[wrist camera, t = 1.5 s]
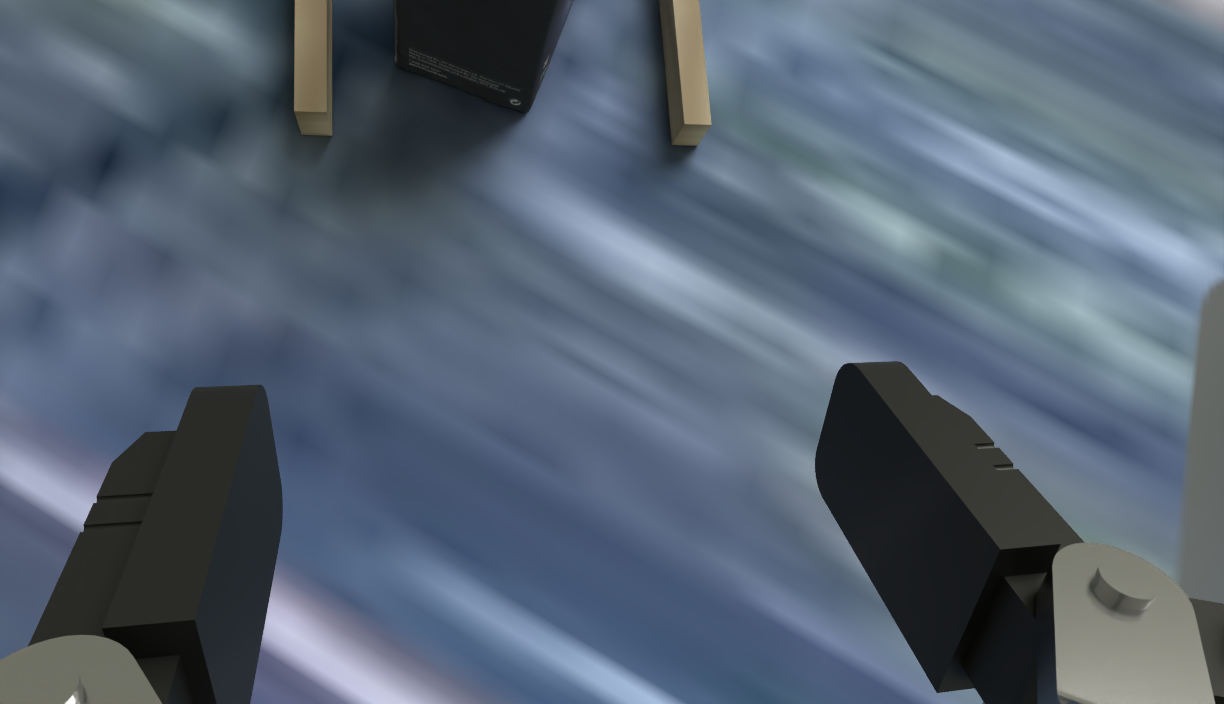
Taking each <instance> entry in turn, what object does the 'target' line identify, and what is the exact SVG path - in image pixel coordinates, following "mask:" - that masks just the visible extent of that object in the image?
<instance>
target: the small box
mask: <svg viewBox="0 0 1224 704" xmlns="http://www.w3.org/2000/svg"><path fill="white" fill-rule="evenodd" d="M572 3H573V0H394V32H395V36H394V47H395V51H394V61H395V63H396V65H398V67H402V68H404V69H405V70H407V71H411V72H414V73H419V74H422V75H425V76H426V77H427V78H433V79H435V80H438V81H441V82H443V83H446V84H448V85H451V86H454V87H456V88H459V89H462V90H464V91H466V92H468V93H472V94H474V95H477V96H480V97H482V98H485V99H486V100H487V101H489V102H493V103H495V104H499V105H502V106H505V107H508V108H512V109H515V110H517V111H520V112H524V113H527V112H528V111H529V110H530V108H531V106H532V104H533V101H534V99H535V96H536V94H537V92H538V89H539V87H540V85H541V82H542V80H543V78H544V75H545V73H546V70H547V68H548V65H549V63H550V61H551V58H552V55H553V52H554V50H555V47H556V45H557V42H558V40H559V37H560V35H561V32H562V29H563V27H564V24H565V21H566V19H567V16H568V13H569V10H570V8H571V5H572Z"/></svg>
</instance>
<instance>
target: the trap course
mask: <svg viewBox="0 0 1224 704" xmlns="http://www.w3.org/2000/svg"><path fill="white" fill-rule="evenodd" d="M659 7H660V18H661V29H662V40H663V51H664V62H665V74H666V85H667V96H668V107H669V118H670V129H671V140H672V145H691V146H698V144H699V143H700V141H701V140H702V138H703V137H704V135H705V134H706V132H707V131H708V129H709V128H710V126H711V115H710V105H709V95H708V85H707V75H706V65H705V55H704V46H703V36H702V26H701V16H700V6H699V0H659ZM294 112H295V116H296V119H297V122H298V125H299V128H300V131H301V134H302V135H326V136H332V0H295V56H294Z"/></svg>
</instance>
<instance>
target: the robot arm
mask: <svg viewBox="0 0 1224 704" xmlns="http://www.w3.org/2000/svg"><path fill="white" fill-rule="evenodd" d="M815 472H816V479H817V484H818V487H819V490H820V493H821V495H822V497H823V499H824V501H825V503H826V504H827V506H828V508H829V509H830V511H831V513H832V515H833V516H834V518H835V520H836V521H837V523H838V525H839V527H840V528H841V530H842V532H843V533H844V535H845V537H846V538H847V540H848V542H849V544H850V545H851V547H852V549H853V550H854V552H855V554H856V556H857V557H858V559H859V561H860V562H861V564H862V566H863V568H864V569H865V571H866V573H867V574H868V576H869V578H870V579H871V581H872V583H873V585H874V586H875V588H876V590H877V591H878V593H879V595H880V597H881V598H882V600H883V602H884V603H885V605H886V607H887V608H888V610H889V612H890V614H891V615H892V617H893V619H894V620H895V622H896V624H897V626H898V627H899V629H900V631H901V632H902V634H903V636H904V637H905V639H906V641H907V643H908V644H909V646H910V648H911V649H912V651H913V653H914V655H915V656H916V658H917V660H918V661H919V663H920V665H921V666H922V668H923V670H924V672H925V673H926V675H927V677H928V678H929V680H930V682H931V684H932V685H933V687H934V689H935V690H936V692H937V693H940V692H948V691H956V690H964V689H972V688H975V689H976V690H977V692H978V694H979V695H980V697H981V698H982V700H983V701H984V702H983V704H1224V604H1222V603H1215V602H1210V601H1204V600H1197V599H1191V598H1188V597H1187V595H1186V594H1185V593H1184V591H1183V590H1182V589H1181V588H1180V587H1179V586H1178V585H1177V584H1176V583H1175V582H1174V581H1173V580H1172V579H1171V578H1170V577H1169V576H1168V575H1167V574H1165V573H1164V572H1163V571H1162V570H1160V569H1159V568H1157V567H1156V566H1154V565H1153V564H1151V563H1149V562H1148V561H1146V560H1144V559H1142V558H1141V557H1138V556H1136V555H1134V554H1132V553H1130V552H1127V551H1124V550H1122V549H1119V548H1116V547H1112V546H1108V545H1104V544H1097V543H1085V542H1084V541H1083V540H1082V539H1081V538H1080V537H1079V536H1078V535H1077V534H1076V533H1075V531H1074V530H1073V529H1072V528H1071V527H1070V526H1069V525H1068V524H1067V523H1066V521H1065V520H1064V519H1063V518H1062V517H1061V516H1060V515H1059V514H1058V513H1057V512H1056V510H1055V509H1054V508H1053V507H1052V506H1051V505H1050V504H1049V503H1048V502H1047V500H1046V499H1045V498H1044V497H1043V496H1042V495H1041V494H1040V493H1039V492H1038V490H1037V489H1036V488H1035V487H1034V486H1033V485H1032V484H1031V483H1030V482H1029V481H1028V479H1027V478H1026V477H1025V476H1024V475H1023V474H1022V473H1021V472H1020V471H1019V469H1014V468H1013V463H1012V462H1011V461H1010V460H1009V458H1008V457H1007V456H1006V455H1005V454H1004V453H1003V452H1002V451H1001V450H1000V448H995V447H994V442H993V441H992V440H991V438H990V437H989V436H988V435H987V434H986V433H985V432H984V431H983V430H982V429H981V427H980V426H979V425H978V424H977V423H976V422H975V421H974V420H973V419H972V417H970V416H969V415H967V414H966V413H964V412H963V411H961V410H959V409H958V408H956V407H955V406H953V405H952V404H950V403H949V402H947V401H945V400H944V399H942V398H941V397H939V396H938V395H934V396H932V395H931V394H930V393H929V392H928V390H927V389H926V388H925V387H924V386H923V385H922V383H921V382H920V381H919V380H918V379H917V378H916V377H915V375H914V374H913V373H912V372H911V371H910V370H909V369H908V367H907V366H906V365H904V364H903V363H901V362H898V361H893V362H867V363H847V364H845V365H843V366H842V367H841V368H840V370H839V371H838V373H837V376H836V379H835V382H834V386H833V390H832V394H831V397H830V401H829V405H828V409H827V413H826V416H825V420H824V424H823V428H822V432H821V435H820V439H819V443H818V447H817V451H816V457H815ZM282 514H283V503H282V487H281V479H280V473H279V467H278V461H277V454H276V448H275V442H274V436H273V430H272V423H271V417H270V411H269V405H268V399H267V395H266V391H265V389H264V387H263V386H262V385H244V386H218V387H196V388H194V389H193V390H192V392H191V394H190V397H189V399H188V402H187V405H186V407H185V410H184V413H183V415H182V418H181V420H180V423H179V426H178V428H177V431H161V432H145V433H144V434H143V435H142V436H141V437H140V438H139V439H138V440H136V441H135V442H134V443H133V444H132V445H131V446H130V447H129V448H128V449H126V450H125V451H124V452H123V453H122V454H121V455H120V456H119V457H118V458H117V459H115V460H114V461H113V462H112V464H111V466H110V468H109V471H108V473H107V475H106V477H105V479H104V482H103V484H102V486H101V488H100V490H99V492H98V495H97V503H93V506H92V508H91V510H90V512H89V514H88V517H87V519H86V521H85V523H84V532H80V534H79V536H78V538H77V541H76V543H75V545H74V547H73V549H72V551H71V554H70V556H69V558H68V560H67V562H66V565H65V567H64V569H63V571H62V573H61V576H60V578H59V580H58V582H57V584H56V586H55V589H54V591H53V593H52V595H51V597H50V600H49V602H48V604H47V606H46V608H45V610H44V613H43V615H42V617H41V619H40V621H39V624H38V626H37V628H36V630H35V632H34V635H33V637H32V639H31V641H30V643H29V645H28V647H26V648H23V649H21V650H19V651H17V652H15V653H13V654H11V655H9V656H7V657H5V658H3V659H2V660H0V704H250V701H251V696H252V690H253V685H254V679H255V674H256V668H257V663H258V657H259V652H260V646H261V641H262V635H263V630H264V624H265V619H266V613H267V608H268V602H269V597H270V592H271V586H272V581H273V575H274V570H275V564H276V559H277V553H278V548H279V542H280V537H281V529H282Z"/></svg>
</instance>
